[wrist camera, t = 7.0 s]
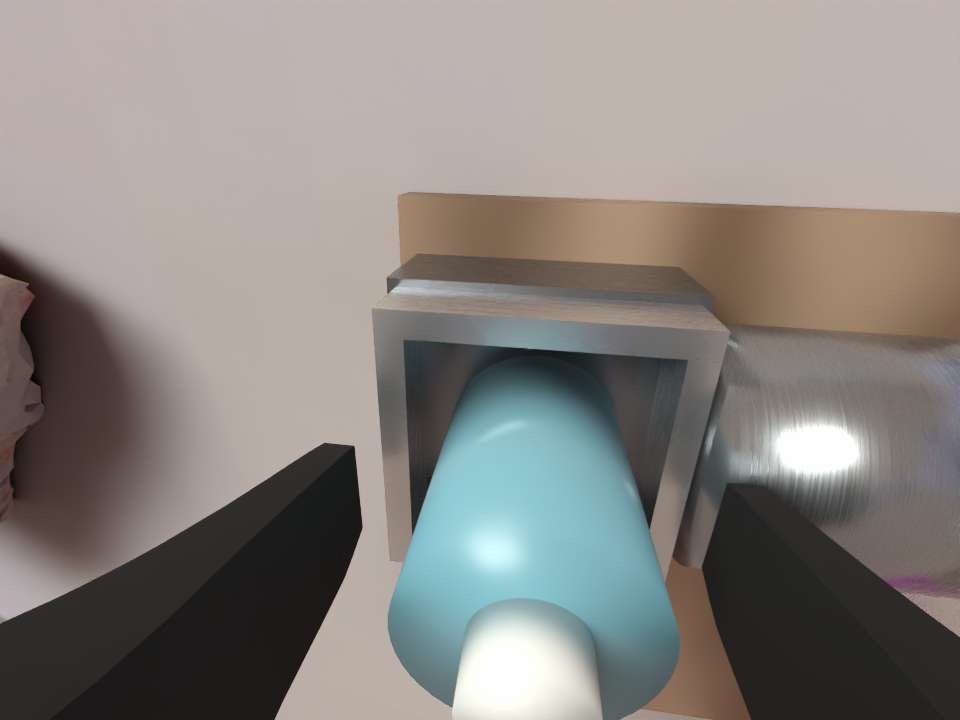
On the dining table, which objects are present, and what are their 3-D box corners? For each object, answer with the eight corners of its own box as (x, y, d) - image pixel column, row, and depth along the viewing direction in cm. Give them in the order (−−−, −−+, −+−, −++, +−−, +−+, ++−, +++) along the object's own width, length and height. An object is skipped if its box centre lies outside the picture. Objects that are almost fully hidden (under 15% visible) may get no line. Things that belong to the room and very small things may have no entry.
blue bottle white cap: (649, 398, 11) (783, 695, 5) (569, 516, 12) (596, 846, 6) (490, 328, 10) (428, 553, 5) (430, 459, 12) (328, 746, 6)
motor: (983, 282, 11) (1335, 385, 6) (877, 506, 14) (1060, 701, 9) (417, 253, 13) (335, 317, 8) (423, 461, 16) (366, 607, 11)
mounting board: (983, 213, 12) (1027, 220, 11) (766, 697, 20) (779, 729, 19) (409, 192, 13) (397, 195, 12) (425, 649, 22) (418, 675, 20)
